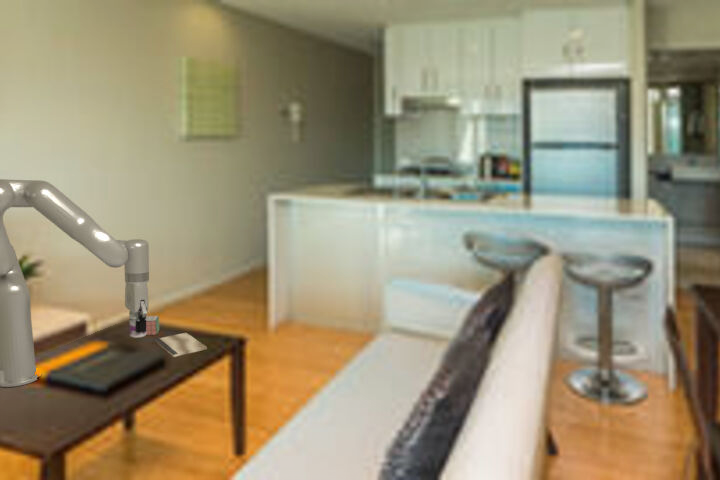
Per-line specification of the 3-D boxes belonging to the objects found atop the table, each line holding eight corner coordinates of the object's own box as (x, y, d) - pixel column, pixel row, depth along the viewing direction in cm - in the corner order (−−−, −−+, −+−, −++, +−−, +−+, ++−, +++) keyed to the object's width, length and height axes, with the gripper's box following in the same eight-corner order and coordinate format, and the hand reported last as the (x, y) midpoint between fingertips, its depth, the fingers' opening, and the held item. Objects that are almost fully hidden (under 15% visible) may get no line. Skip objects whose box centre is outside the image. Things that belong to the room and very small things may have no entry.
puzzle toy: (159, 329, 218) (158, 315, 217) (156, 335, 212) (156, 320, 211) (144, 330, 217) (143, 316, 216) (140, 335, 211) (140, 321, 210)
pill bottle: (141, 331, 195) (140, 304, 193) (149, 335, 192) (149, 307, 190) (126, 335, 191) (125, 307, 189) (134, 339, 187) (134, 311, 186)
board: (173, 357, 192) (173, 354, 192) (154, 341, 206) (154, 339, 205) (206, 349, 199) (206, 346, 199) (186, 334, 213) (186, 332, 213)
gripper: (117, 272, 192) (118, 324, 195) (133, 284, 179) (135, 338, 182) (139, 270, 197) (140, 320, 200) (157, 281, 184) (158, 334, 187)
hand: (137, 328), depth 191 cm, fingers closed on pill bottle, 5 cm apart
